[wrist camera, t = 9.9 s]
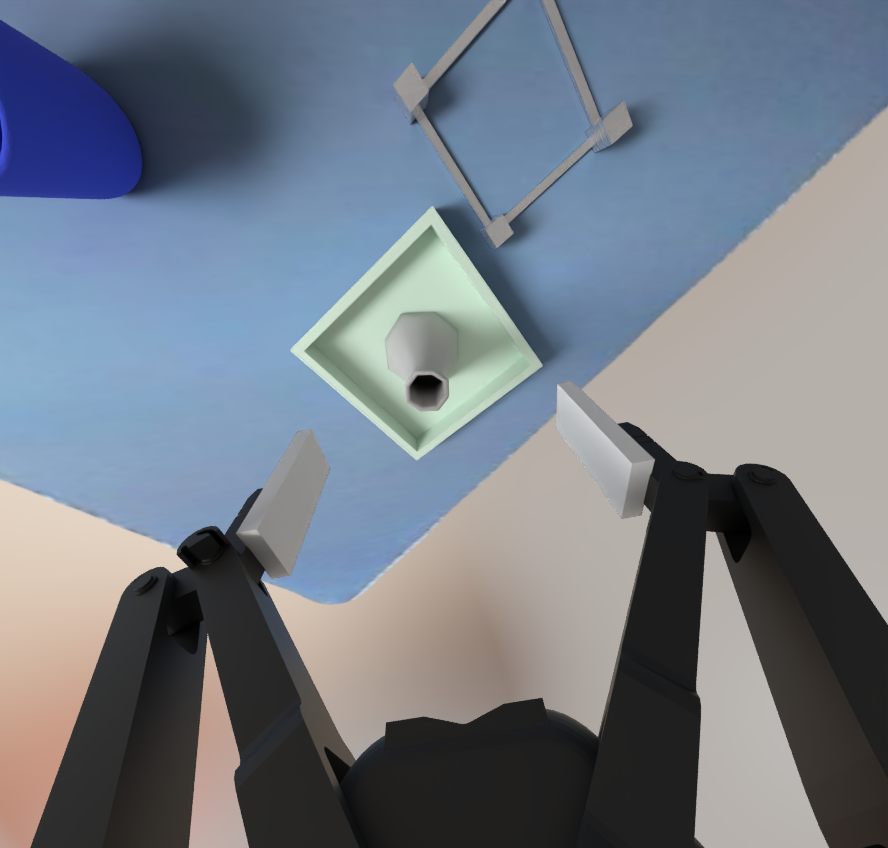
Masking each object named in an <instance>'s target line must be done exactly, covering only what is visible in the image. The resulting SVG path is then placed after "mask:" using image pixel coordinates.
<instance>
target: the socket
mask: <svg viewBox="0 0 888 848" xmlns="http://www.w3.org/2000/svg"><path fill="white" fill-rule="evenodd" d="M507 1H508V0H491V1H490V2H489V3H488V4H487V6H486V7H485V8H484V9H483V10H482V11H481V13H480V14H479V15H478V16H477V17H476V18H475V20H474V21H473V22H472V23H471V24H470V25H469V27H468V28H467V29H466V30H465V31H464V32H463V33H462V35H461V36H460V37H459V38H458V39H457V40H456V42H455V43H454V44H453V45H452V46H451V47H450V49H449V50H448V51H447V52H446V53H445V54H444V56H443V57H442V58H441V59H440V60H439V61H438V63H437V64H436V65H435V66H434V67H433V68H432V70H431V71H430V72H429V73H428V74H427V75H426V77H425V78H424V79H423V80H422V78H421V76H420V75H419V73H418V71H417V70H416V68H415V66H414V65H413V63H411V64H410V65H409V66H408V68H407V69H406V70H405V71H404V72H403V74H402V75H401V76H400V77H399V78H398V80H397V81H396V82H395V83H394V84H393V89H394V98H395V102H396V103H397V105H398V106H399V108H400V109H401V111H402V112H403V114H404V115H405V117H406V119H407V120H408V122H409V123H410V125H411V124H412V122H413V121H414V120H415V119H416V120H417V122H418V123H419V125H420V126H421V128H422V130H423V131H424V133H425V134H426V136H427V137H428V139H429V141H430V142H431V144H432V145H433V147H434V148H435V150H436V152H437V153H438V155H439V156H440V158H441V160H442V161H443V163H444V164H445V166H446V167H447V169H448V171H449V172H450V174H451V175H452V177H453V178H454V180H455V182H456V183H457V185H458V186H459V188H460V189H461V191H462V193H463V194H464V196H465V197H466V199H467V200H468V202H469V204H470V205H471V207H472V208H473V210H474V211H475V213H476V215H477V216H478V218H479V219H480V221H481V223H482V224H483V226H484V227H483V228H482V229H481V230H480V233H481V234H482V236H483V238H484V239H485V241H486V242H487V244H488V245H489V247H490V248H498V247H499V246H500V245H501V244H502V243H503V242H505V241H506V240H507V239H508V238H509V237H510V236H511V235H512V234H513V231H512V229H511V228H510V226H509V224H508V223H509V222H510V221H512V220H513V219H514V218H515V217H516V216H517V215H518V214H519V213H520V212H521V211H522V210H524V209H525V208H526V207H527V206H528V205H529V204H530V203H531V202H532V201H533V200H534V199H536V198H537V197H538V196H539V195H540V194H541V193H542V192H543V191H544V190H545V189H546V188H548V187H549V186H550V185H551V184H552V183H553V182H554V181H555V180H556V179H557V178H558V177H560V176H561V175H562V174H563V173H564V172H565V171H566V170H567V169H568V168H569V167H570V166H571V165H573V164H574V163H575V162H576V161H577V160H578V159H579V158H580V157H581V156H582V155H583V154H585V153H586V152H587V151H588V150H589V149H590V148H591V147H592V149H593V152H594V153H595V152H597V151H600V150H602V149H604V148H606V147H608V146H610V145H612V144H613V143H614V142H615V141H616V140H618V139H619V138H620V137H621V136H622V135H623V134H624V133H625V132H626V131H627V130H629V129H630V128H631V127H632V126H633V124H632V121H631V119H630V116H629V113H628V110H627V107H626V104H625V102H624V101H622V102H621V103H619V104H618V105H616V106H615V107H613V108H612V109H610V110H609V111H607V112H606V113H604V114H603V115H602V116H601V117H600V116H599V113H598V111H597V108H596V106H595V103H594V101H593V98H592V96H591V93H590V90H589V88H588V85H587V83H586V80H585V78H584V75H583V73H582V70H581V67H580V65H579V62H578V60H577V57H576V55H575V52H574V50H573V47H572V44H571V42H570V39H569V37H568V34H567V32H566V29H565V27H564V24H563V22H562V19H561V16H560V14H559V11H558V9H557V6H556V4H555V1H554V0H540V2H541V5H542V7H543V10H544V12H545V15H546V17H547V20H548V22H549V24H550V27H551V29H552V32H553V34H554V37H555V39H556V42H557V44H558V46H559V49H560V51H561V54H562V56H563V59H564V61H565V64H566V66H567V69H568V71H569V73H570V76H571V78H572V81H573V83H574V86H575V88H576V91H577V93H578V95H579V98H580V100H581V103H582V105H583V108H584V110H585V113H586V115H587V117H588V120H589V122H590V125H591V126H590V127H589V128H588V129H587V130H586V131H585V133H586V135H587V137H588V139H587V140H586V141H585V142H584V143H582V144H581V145H580V146H579V147H578V148H577V149H576V150H575V151H574V152H573V153H572V154H571V155H570V156H568V157H567V158H566V159H565V160H564V161H563V162H562V163H561V164H560V165H559V166H558V167H557V168H556V169H554V170H553V171H552V172H551V173H550V174H549V175H548V176H547V177H546V178H545V179H544V180H543V181H542V182H540V183H539V184H538V185H537V186H536V187H535V188H534V189H533V190H532V191H531V192H530V193H529V194H528V195H527V196H525V197H524V198H523V199H522V200H521V201H520V202H519V203H518V204H517V205H516V206H515V207H514V208H513V209H511V210H510V211H509V212H508V213H507V214H506V215H505V216H503V214H501V215H497V216H494V217H493V218H492V219H491V220H490V219H489V217H488V216H487V214H486V213H485V211H484V209H483V208H482V206H481V204H480V203H479V201H478V200H477V198H476V196H475V195H474V193H473V192H472V190H471V188H470V187H469V185H468V183H467V182H466V180H465V179H464V177H463V175H462V174H461V172H460V171H459V169H458V167H457V166H456V164H455V162H454V161H453V159H452V158H451V156H450V154H449V153H448V151H447V150H446V148H445V146H444V145H443V143H442V141H441V140H440V138H439V137H438V135H437V133H436V132H435V130H434V129H433V127H432V125H431V124H430V122H429V120H428V119H427V117H426V116H425V114H424V112H423V110H424V109H425V108H426V107H427V104H428V96H429V90H430V89H431V88H432V87H433V85H434V84H435V83H436V82H437V81H438V80H439V79H440V77H441V76H442V75H443V74H444V73H445V72H446V71H447V69H448V68H449V67H450V66H451V65H452V64H453V63H454V61H455V60H456V59H457V58H458V57H459V56H460V55H461V53H462V52H463V51H464V50H465V49H466V48H467V47H468V45H469V44H470V43H471V42H472V41H473V40H474V39H475V37H476V36H477V35H478V34H479V33H480V32H481V31H482V29H483V28H484V27H485V26H486V25H487V24H488V23H489V21H490V20H491V19H492V18H493V17H494V16H495V15H496V13H497V12H498V11H499V10H500V9H501V8H502V7H503V5H504V4H505V3H506V2H507Z"/></svg>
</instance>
